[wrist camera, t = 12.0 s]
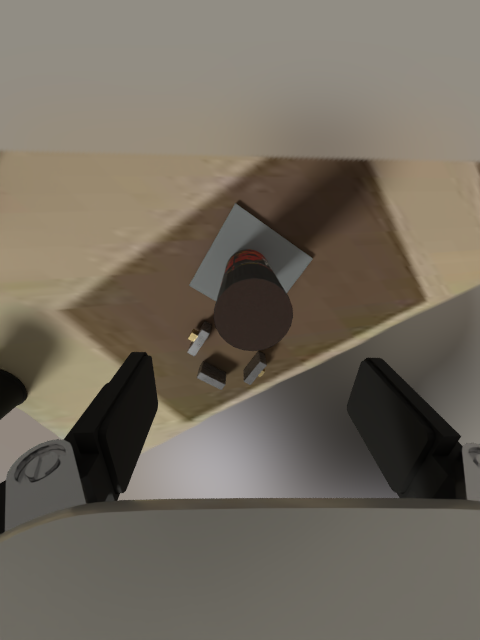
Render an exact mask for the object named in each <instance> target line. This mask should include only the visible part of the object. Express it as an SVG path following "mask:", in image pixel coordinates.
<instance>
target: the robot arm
mask: <svg viewBox="0 0 480 640" xmlns="http://www.w3.org/2000/svg"><path fill="white" fill-rule="evenodd" d="M157 408H158V399H157V392H156V385H155V378H154V371H153V364H152V357H151V356H148V355H147V353H146V352H132V353H131V354H130V355H129V356H128V358H127V359H126V360H125V362H124V363H123V364H122V366H121V367H120V369H119V370H118V371H117V373H116V374H115V375H114V377H113V378H112V379H111V381H110V382H109V383H107V384H105V385H104V386H103V388H102V389H101V390H100V392H99V393H98V394H97V396H96V397H95V398H94V400H93V401H92V402H91V404H90V405H89V406H88V408H87V409H86V410H85V412H84V413H83V414H82V416H81V417H80V418H79V420H78V421H77V422H76V424H75V425H74V426H73V428H72V429H71V430H70V432H69V433H68V434H67V436H66V437H65V438H64V440H59V439H57V440H51V441H47V442H44V443H41V444H39V445H37V446H35V447H33V448H31V449H30V450H28V451H27V452H26V453H24V454H23V455H22V456H21V457H19V458H18V459H17V461H16V462H15V463H14V464H13V465H12V466H11V468H10V470H9V471H8V474H7V478H6V480H5V481H4V482H2V483H0V640H480V444H476V443H466V444H465V445H463V446H462V445H461V444H460V443H459V442H458V440H459V439H460V437H461V436H460V435H459V434H458V433H457V432H456V431H455V430H454V429H453V428H452V427H451V426H450V425H449V424H448V423H447V422H446V421H445V420H444V419H443V418H442V417H441V416H440V415H439V414H438V413H437V412H436V411H435V410H434V409H433V408H432V407H431V406H430V405H429V404H428V403H427V402H425V400H424V399H422V397H420V396H419V395H418V394H417V393H416V392H415V391H414V390H413V389H412V388H411V387H410V386H409V385H408V384H407V383H406V382H405V381H404V380H403V379H402V378H401V377H400V376H399V375H398V374H397V373H396V372H395V371H394V370H393V369H392V368H391V367H390V366H389V365H388V364H387V363H386V362H385V361H384V360H383V359H381V358H366V359H365V360H364V361H362V362H361V364H360V367H359V370H358V373H357V376H356V379H355V382H354V385H353V388H352V392H351V395H350V398H349V401H348V404H347V411H348V414H349V416H350V417H351V419H352V421H353V423H354V424H355V426H356V428H357V430H358V431H359V433H360V435H361V437H362V438H363V440H364V442H365V444H366V446H367V447H368V449H369V451H370V452H371V454H372V456H373V458H374V459H375V461H376V463H377V465H378V466H379V468H380V470H381V471H382V473H383V475H384V477H385V479H386V480H387V482H388V484H389V486H390V487H391V489H392V490H393V491H394V492H396V493H397V494H398V496H399V497H400V498H233V499H232V498H230V499H227V498H226V499H153V500H120V501H117V500H118V497H119V494H120V493H124V492H125V491H126V489H127V486H128V484H129V481H130V479H131V476H132V473H133V471H134V468H135V466H136V463H137V461H138V458H139V456H140V453H141V450H142V448H143V445H144V443H145V440H146V438H147V435H148V432H149V430H150V427H151V425H152V422H153V419H154V417H155V414H156V412H157Z"/></svg>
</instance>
